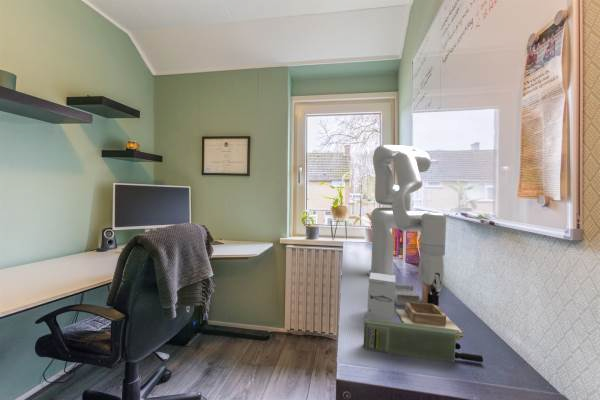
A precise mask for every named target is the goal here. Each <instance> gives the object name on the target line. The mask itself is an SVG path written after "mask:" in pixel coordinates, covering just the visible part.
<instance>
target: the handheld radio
mask: <svg viewBox="0 0 600 400" xmlns="http://www.w3.org/2000/svg"><path fill="white" fill-rule="evenodd" d="M363 322H364V323H363V325H364V326H363V327H364V328H363V349H364V350H367V351H375V352H381V353H387V354H388V353H389V354H397V355H402V356H409V357H416V358H422V359H429V360H435V361H436V360H437V361H443V362H450V363H455V360H456V359H458V360H459V359H461V360H464V361H470V362H472V361H473V362H478V363H483V361H484V357H483V356H482V355H479V354H472V353H465V352H461V353H460V352H458V351H456V350H461V347H462V346H461V345H460V343H458V342H456V341H457V340H458V341H459V340H461V336H459V335H456V334H461V333H460V331H459V330H455V329H447V328H439V327H431V326H423V325H415V324H407V323H402V322H398V321H397V322H396V321H394V322H390V321H382V320H374V319H367V317H365V318H364V321H363Z"/></svg>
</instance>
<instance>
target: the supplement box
mask: <svg viewBox="0 0 600 400" xmlns="http://www.w3.org/2000/svg"><path fill="white" fill-rule="evenodd" d="M396 278H397V275H396V276H394V275H386V274H379V273H372V272H371V273H370V276H369V277H368V289H367V290H368V293H367V310H366V311H367V312H366V313H367V314H366V319H374V320H382V321H390V322H395V284H397V283H396Z"/></svg>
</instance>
